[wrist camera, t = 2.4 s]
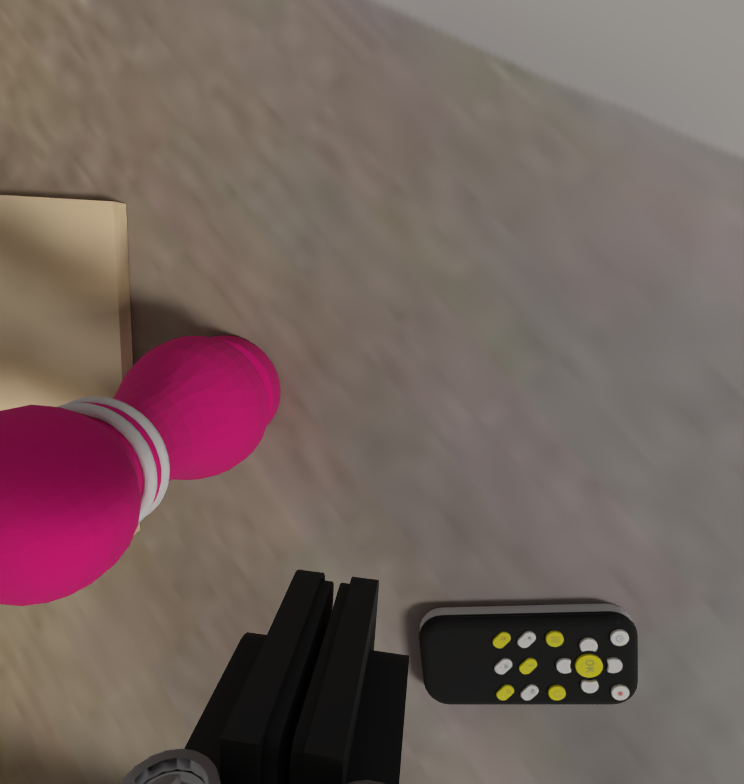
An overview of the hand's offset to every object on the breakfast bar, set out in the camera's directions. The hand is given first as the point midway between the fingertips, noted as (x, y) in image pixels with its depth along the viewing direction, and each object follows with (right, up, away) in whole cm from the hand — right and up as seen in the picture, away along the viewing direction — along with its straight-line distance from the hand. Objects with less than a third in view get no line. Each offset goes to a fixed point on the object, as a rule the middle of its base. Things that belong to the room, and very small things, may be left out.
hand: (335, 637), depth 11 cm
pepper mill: (-8, +5, +21) cm, 23 cm away
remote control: (+10, -11, +23) cm, 28 cm away
